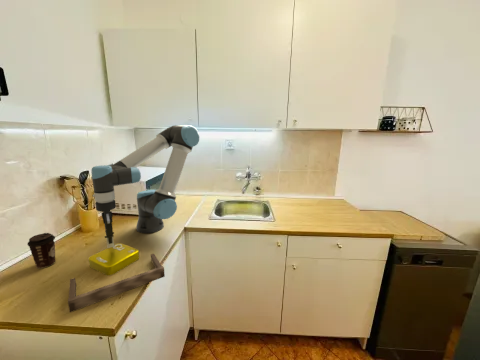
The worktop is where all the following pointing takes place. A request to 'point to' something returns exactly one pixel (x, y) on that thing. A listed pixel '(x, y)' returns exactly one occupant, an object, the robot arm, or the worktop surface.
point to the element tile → (113, 259)
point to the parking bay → (113, 287)
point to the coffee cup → (43, 249)
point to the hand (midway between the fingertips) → (111, 248)
